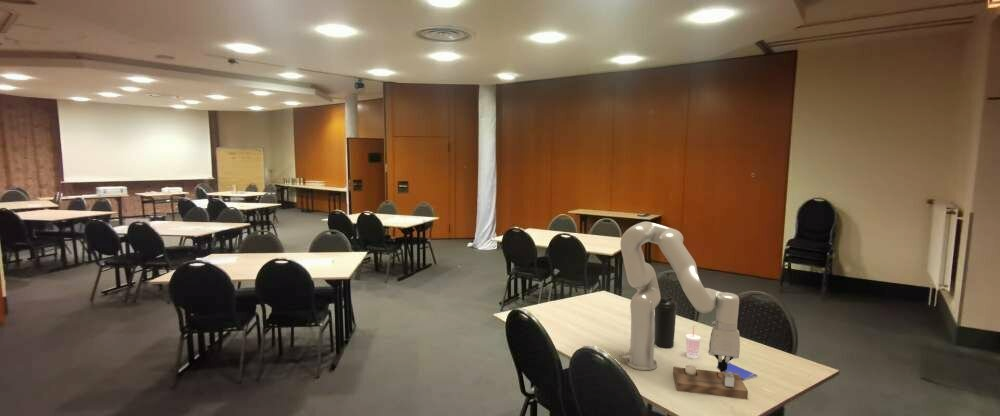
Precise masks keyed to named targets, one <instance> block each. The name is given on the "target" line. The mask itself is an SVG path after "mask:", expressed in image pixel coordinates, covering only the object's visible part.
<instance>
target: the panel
mask: <svg viewBox="0 0 1000 416" xmlns="http://www.w3.org/2000/svg"><path fill="white" fill-rule="evenodd" d="M672 369H673V370H672V374H673V375H672V376H673V379H674V384H675V388H676V391H678V392H684V393H685V392H688V393H695V394H703V395H712V396H717V397H718V396H720V397H728V398H736V399H744V400H748V399H749V390H748V389H747V387H746V385H745V383H744V381H742V379H741V377H740V376H739V374H736V373H732V375H733V376H734V387H728V386H725V385H724V383H723V381H722V378H718V373H719V372H720V371H715V370H707V369H706V370H704V369H698V368H696V375H687V374H685V367H679V366H673V367H672Z"/></svg>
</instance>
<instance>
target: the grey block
mask: <svg viewBox="0 0 1000 416" xmlns="http://www.w3.org/2000/svg"><path fill="white" fill-rule="evenodd" d="M722 381H723V383H724V385H725V386H728V387H734V376H733V375H732V373H731V372H726V371H722Z"/></svg>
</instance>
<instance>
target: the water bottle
mask: <svg viewBox="0 0 1000 416" xmlns="http://www.w3.org/2000/svg"><path fill="white" fill-rule="evenodd" d="M673 298H674V296H671V295H669V294H668V295H667V294H662V296H661V299H660V302H659V304H658V305H657V307H656V308H655V310H654V318H655V334H654V346H656V347H658V348H660V349H672V348H674V346H675V345H674V343H675V332H676V319H677V316H676V315H677V310H678V304H677V303H676V301H675V300H673Z"/></svg>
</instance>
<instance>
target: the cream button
mask: <svg viewBox="0 0 1000 416" xmlns="http://www.w3.org/2000/svg"><path fill="white" fill-rule="evenodd" d="M684 368H685V374H687V375H696V369H697V367H696V366H694V365H690V364H689V365H688V364H687V365H685V367H684Z"/></svg>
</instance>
